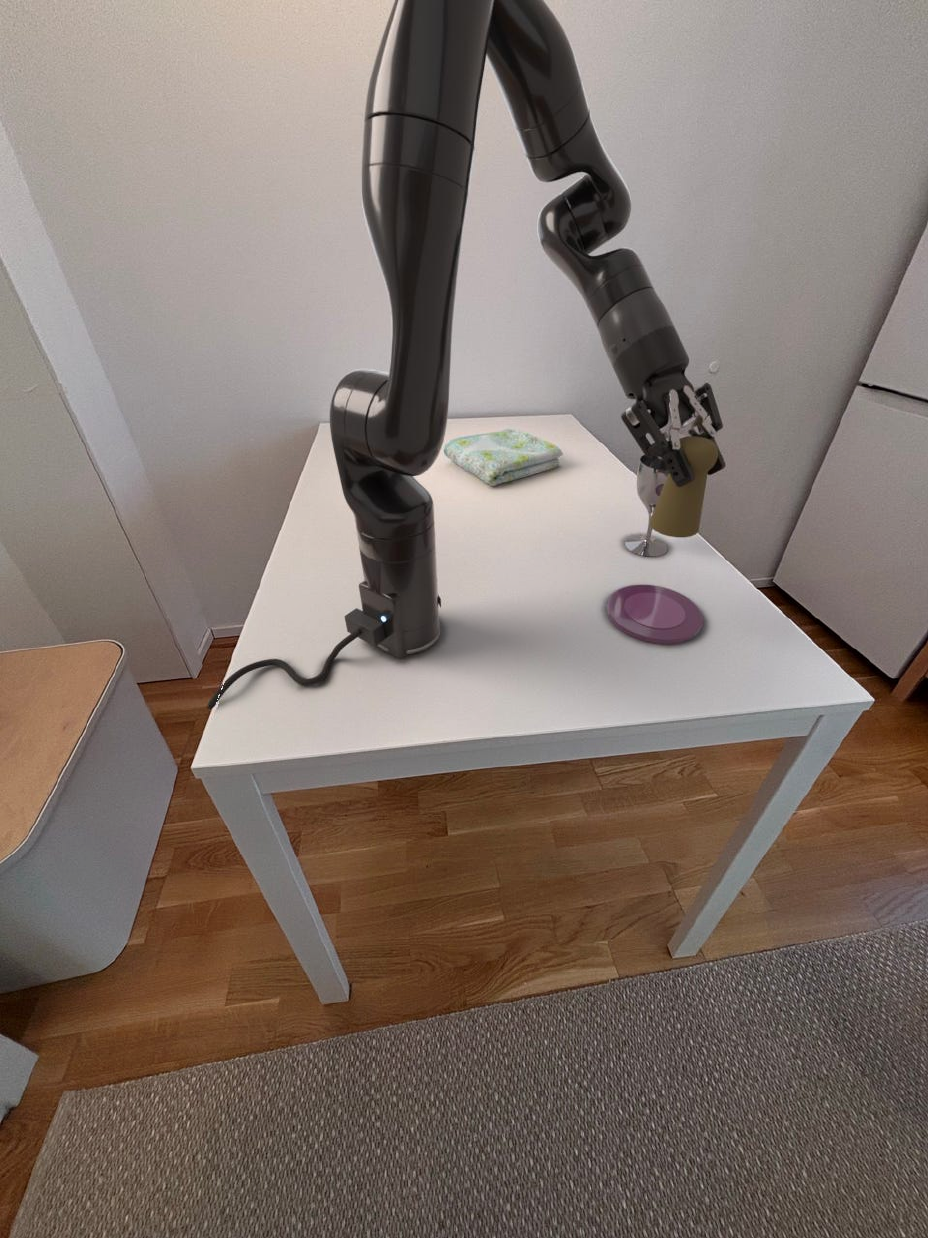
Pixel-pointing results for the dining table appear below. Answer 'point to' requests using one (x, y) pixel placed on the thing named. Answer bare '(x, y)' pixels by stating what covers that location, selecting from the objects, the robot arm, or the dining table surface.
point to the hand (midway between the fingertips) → (702, 476)
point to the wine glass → (649, 504)
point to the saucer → (654, 614)
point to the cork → (685, 492)
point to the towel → (503, 455)
